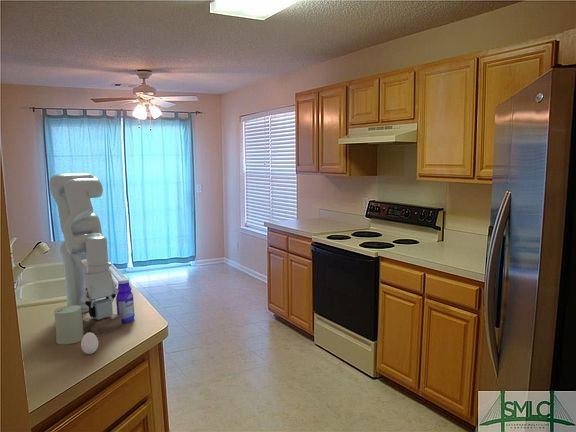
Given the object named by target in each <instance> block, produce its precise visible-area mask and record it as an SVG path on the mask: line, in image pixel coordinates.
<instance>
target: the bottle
mask: <svg viewBox="0 0 576 432" xmlns="http://www.w3.org/2000/svg"><path fill="white" fill-rule="evenodd" d="M117 289H118V290H119V292H118V293H117V295H116V296H115V303H116V315H121V323H122V324H126V323H129V322H131V321H133V320H134V319H135V304H134V293H133V292H132V290H133V289H132V287H131V284H130V279H129V278H127V277H123V278H118V280H117Z"/></svg>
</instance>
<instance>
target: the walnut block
mask: <svg viewBox="0 0 576 432" xmlns="http://www.w3.org/2000/svg"><path fill="white" fill-rule="evenodd" d="M82 321H83V333H85V334H86V333H88V332H91V333H93V334H95V335H96V336H98V337H103V336H104V335H105V336H106V335H107V334H109V333H112V332H114V331H116V330H119V329H122V328H123V325H122V324H123V323H121V315H117V314H114V313H113V315H112V316H109V317H105V318H102V319H99V320H98V319H95V318H92V317H90V316H89V317H86V318H82Z"/></svg>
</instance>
